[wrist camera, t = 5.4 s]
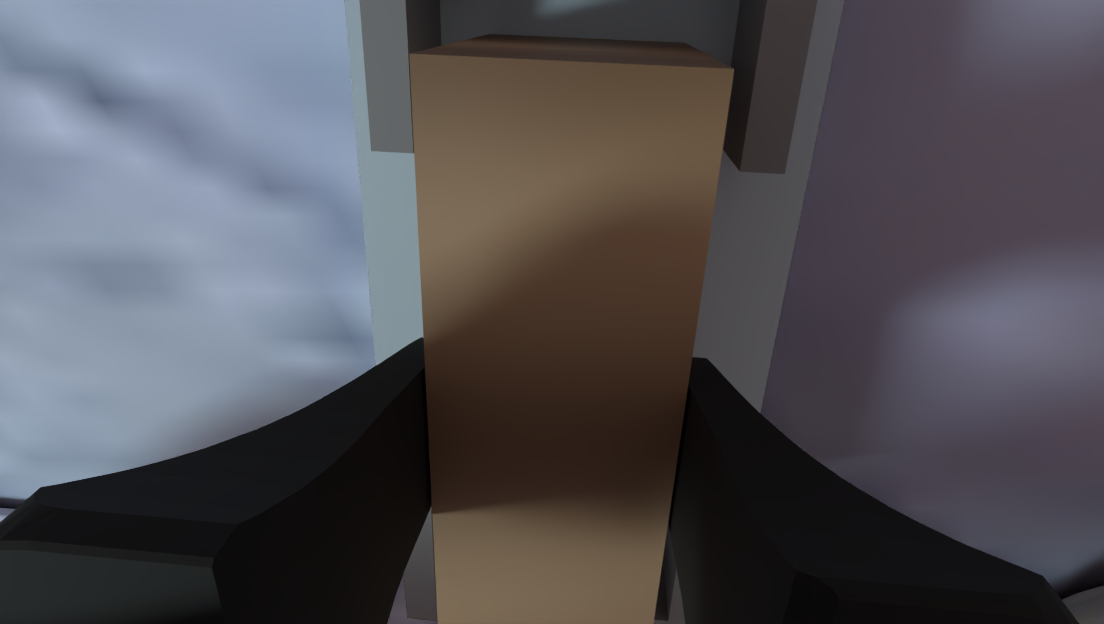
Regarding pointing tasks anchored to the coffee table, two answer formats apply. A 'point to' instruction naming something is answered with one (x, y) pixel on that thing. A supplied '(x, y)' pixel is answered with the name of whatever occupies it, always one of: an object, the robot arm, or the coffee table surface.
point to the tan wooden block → (559, 312)
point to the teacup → (1087, 606)
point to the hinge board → (742, 192)
